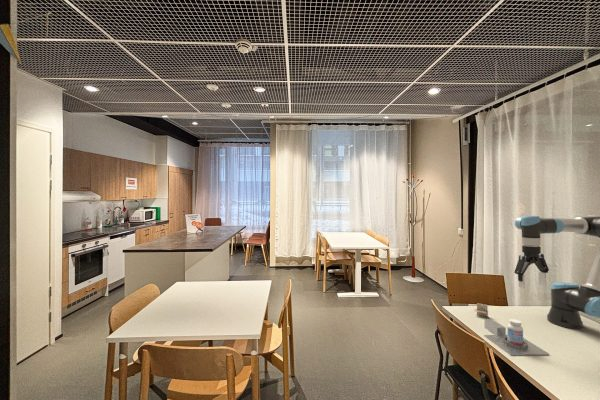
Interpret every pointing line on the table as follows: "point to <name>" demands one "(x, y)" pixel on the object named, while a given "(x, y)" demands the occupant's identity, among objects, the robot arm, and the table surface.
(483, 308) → the architectural model
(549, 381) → the table surface
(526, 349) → the duct collar
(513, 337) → the pill bottle
